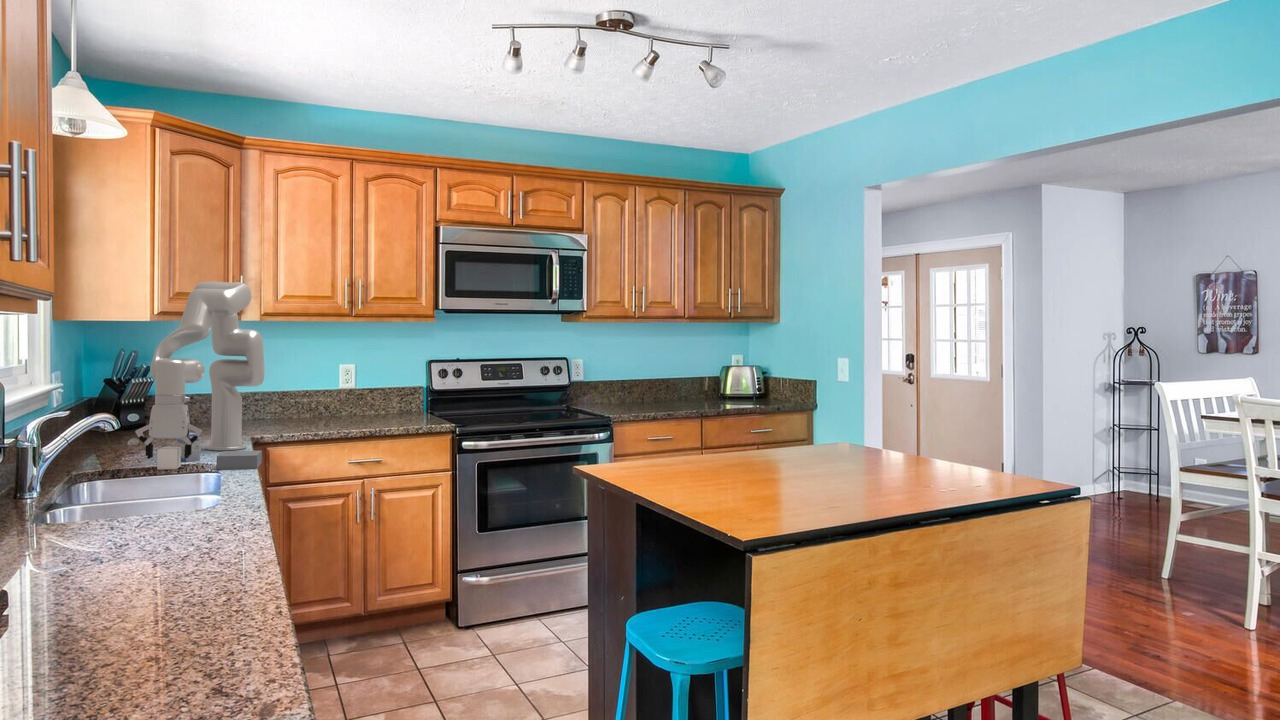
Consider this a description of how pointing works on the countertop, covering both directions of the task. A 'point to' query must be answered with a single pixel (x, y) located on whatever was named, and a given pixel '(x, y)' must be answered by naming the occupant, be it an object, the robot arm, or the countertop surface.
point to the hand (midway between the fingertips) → (168, 457)
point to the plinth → (239, 460)
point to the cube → (169, 458)
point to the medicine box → (195, 449)
